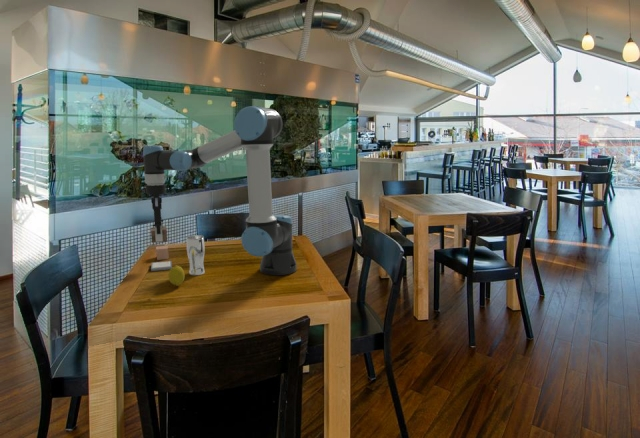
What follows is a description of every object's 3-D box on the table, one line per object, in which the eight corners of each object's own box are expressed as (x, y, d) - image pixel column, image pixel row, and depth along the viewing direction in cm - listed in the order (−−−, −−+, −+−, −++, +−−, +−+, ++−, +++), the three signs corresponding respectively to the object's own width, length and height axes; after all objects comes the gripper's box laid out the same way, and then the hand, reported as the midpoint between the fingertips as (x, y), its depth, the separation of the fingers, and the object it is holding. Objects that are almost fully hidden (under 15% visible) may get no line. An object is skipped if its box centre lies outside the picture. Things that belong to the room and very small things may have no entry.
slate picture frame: (171, 269, 176) (171, 266, 176) (151, 271, 173) (150, 268, 173) (171, 263, 184) (171, 260, 184) (151, 264, 181) (151, 262, 181)
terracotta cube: (168, 259, 190) (168, 248, 189) (156, 260, 189) (156, 249, 188) (168, 256, 195) (167, 245, 194) (157, 257, 193) (156, 246, 192)
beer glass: (201, 276, 167) (199, 239, 164) (184, 275, 169) (182, 238, 166) (209, 270, 174) (207, 235, 171) (193, 269, 175) (191, 234, 172)
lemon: (186, 283, 159) (185, 263, 158) (182, 288, 154) (181, 267, 152) (172, 283, 159) (170, 263, 158) (167, 288, 154) (165, 267, 152)
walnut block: (151, 242, 173) (150, 230, 172) (152, 239, 178) (151, 227, 177) (167, 241, 175) (166, 229, 174) (167, 238, 180) (166, 226, 179)
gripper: (165, 186, 164) (169, 244, 169) (165, 181, 182) (168, 233, 186) (144, 187, 162) (149, 245, 166) (146, 181, 179) (150, 235, 184)
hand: (159, 239), depth 176 cm, fingers closed on walnut block, 6 cm apart
